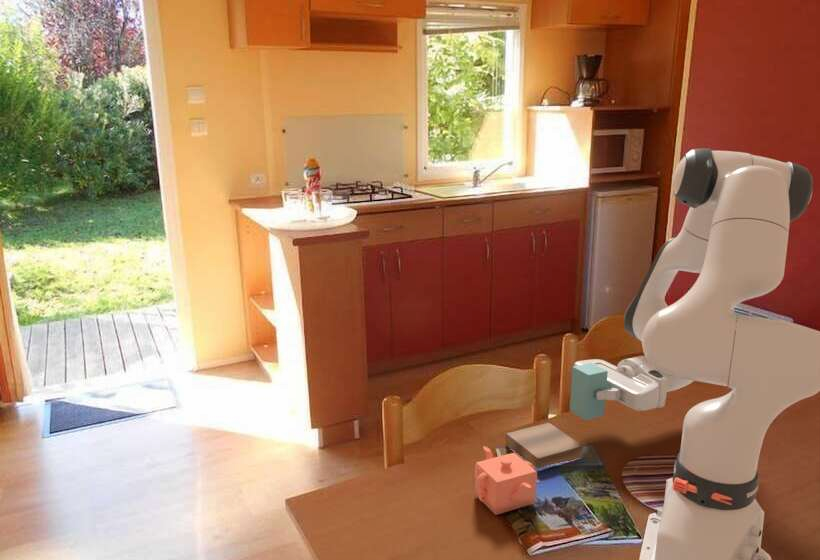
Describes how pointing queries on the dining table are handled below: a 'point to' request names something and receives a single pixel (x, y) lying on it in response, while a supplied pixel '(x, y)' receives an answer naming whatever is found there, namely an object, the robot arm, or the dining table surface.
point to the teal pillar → (587, 390)
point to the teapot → (505, 482)
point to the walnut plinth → (543, 445)
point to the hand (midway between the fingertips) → (585, 389)
